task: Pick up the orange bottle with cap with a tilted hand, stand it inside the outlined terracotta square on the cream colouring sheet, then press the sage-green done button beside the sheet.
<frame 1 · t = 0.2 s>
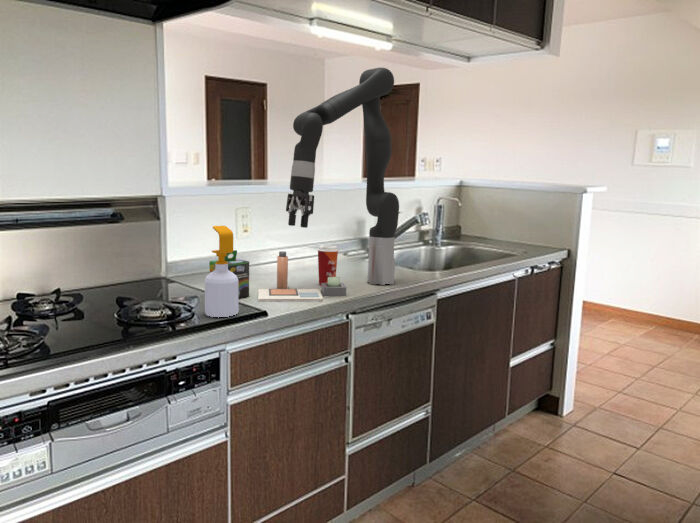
hand: (297, 226, 185), 22 cm above the countertop, tool pointing down, fingers open, 8 cm apart
chalk box: (229, 297, 181), on the countertop
board: (289, 296, 184), on the countertop
orange bottle with cap: (282, 288, 195), on the countertop
soap bottle: (221, 314, 159), on the countertop
paper cup: (327, 285, 202), on the countertop
done button: (333, 283, 188), point 4 cm above the countertop, slide at 0.0 cm
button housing: (333, 294, 189), on the countertop
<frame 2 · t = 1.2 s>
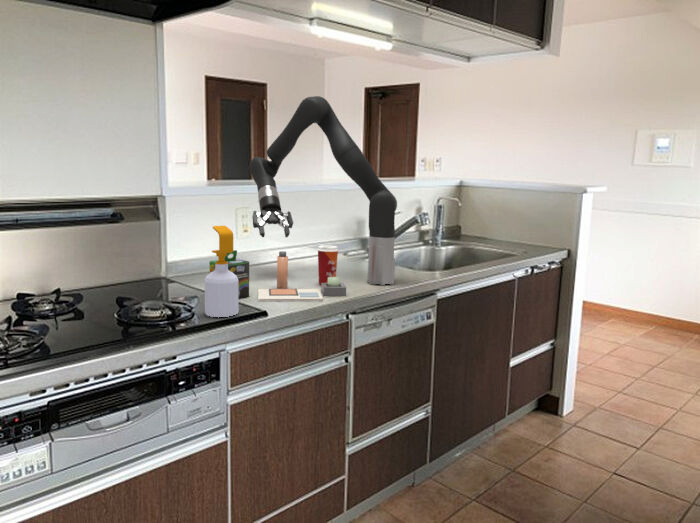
hand: (275, 235, 202), 17 cm above the countertop, tool tilted 45°, fingers open, 8 cm apart
nothing on the countertop moved.
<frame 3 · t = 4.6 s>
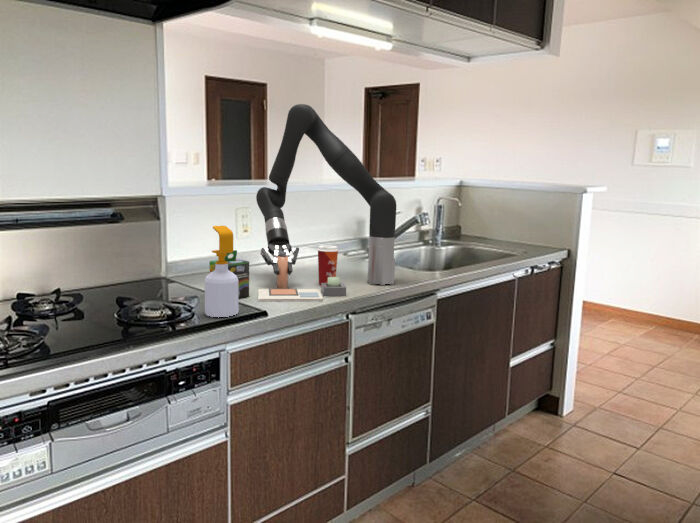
hand: (283, 273, 192), 6 cm above the countertop, tool tilted 45°, fingers closed on orange bottle with cap, 3 cm apart
orange bottle with cap: (282, 288, 195), on the countertop, touching gripper
everything else where it was.
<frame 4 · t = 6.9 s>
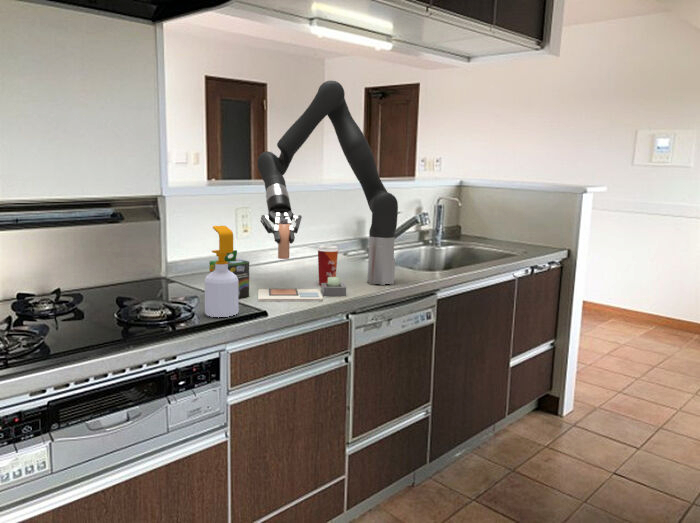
hand: (285, 241, 181), 18 cm above the countertop, tool tilted 45°, fingers closed on orange bottle with cap, 3 cm apart
orange bottle with cap: (283, 258, 183), point 12 cm above the countertop, touching gripper
everything else where it was.
when the fingers open (7 cm above the countertop, at t = 9.0 s): orange bottle with cap stays where it is, resting on board.
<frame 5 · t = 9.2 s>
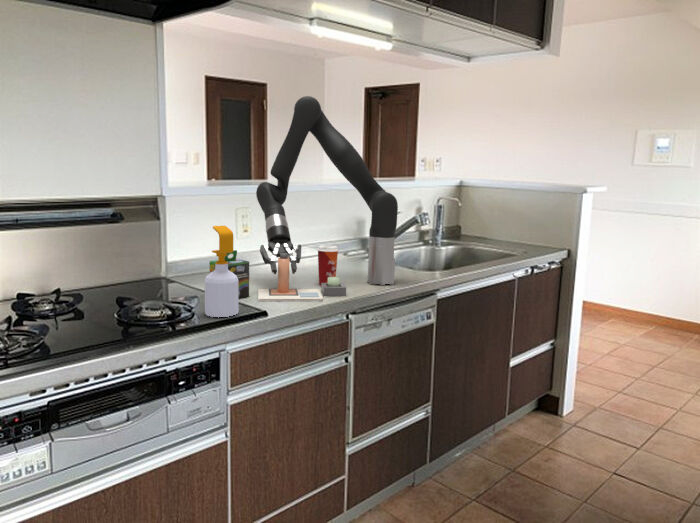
hand: (284, 272, 182), 8 cm above the countertop, tool tilted 45°, fingers open, 5 cm apart
orange bottle with cap: (283, 291, 185), point 1 cm above the countertop, touching board
everything else where it was.
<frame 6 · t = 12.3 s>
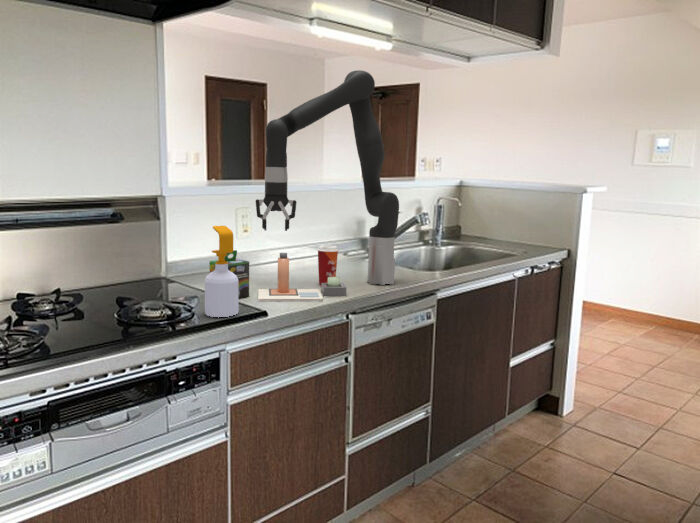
hand: (275, 230, 194), 20 cm above the countertop, tool pointing down, fingers open, 6 cm apart
nothing on the countertop moved.
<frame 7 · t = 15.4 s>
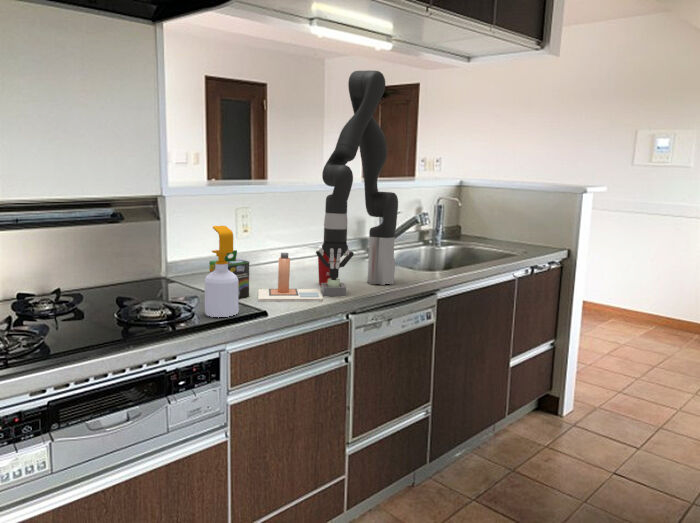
hand: (333, 279, 188), 5 cm above the countertop, tool pointing down, fingers closed
done button: (333, 285, 188), point 3 cm above the countertop, slide at 0.6 cm, touching gripper
everything else where it was.
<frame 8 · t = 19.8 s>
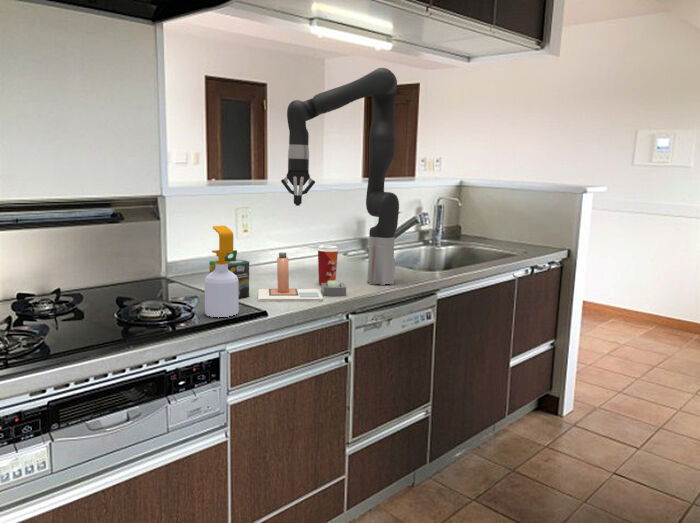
hand: (297, 205, 210), 27 cm above the countertop, tool pointing down, fingers closed
done button: (333, 287, 189), point 2 cm above the countertop, slide at 1.2 cm
everything else where it was.
at the end: orange bottle with cap inside the target area on the board (0.1 cm from its centre), point 1.1 cm above the board's base; orange bottle with cap tilted 2°; done button slide at 1.2 cm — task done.
